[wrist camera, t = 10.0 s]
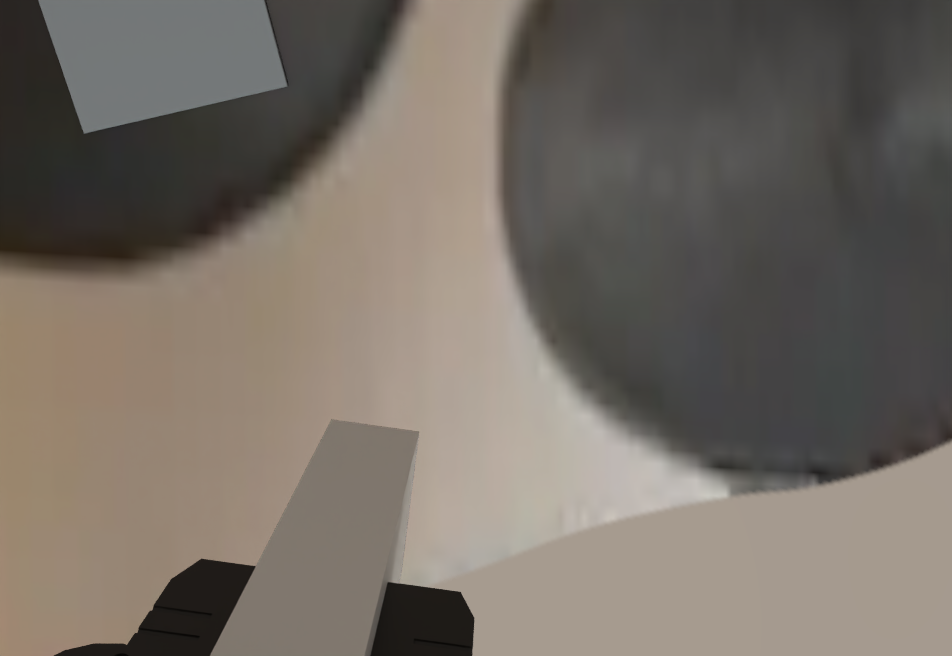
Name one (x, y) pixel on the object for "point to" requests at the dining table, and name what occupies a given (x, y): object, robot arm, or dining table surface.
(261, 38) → the t mat
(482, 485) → the dining table surface
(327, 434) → the robot arm
